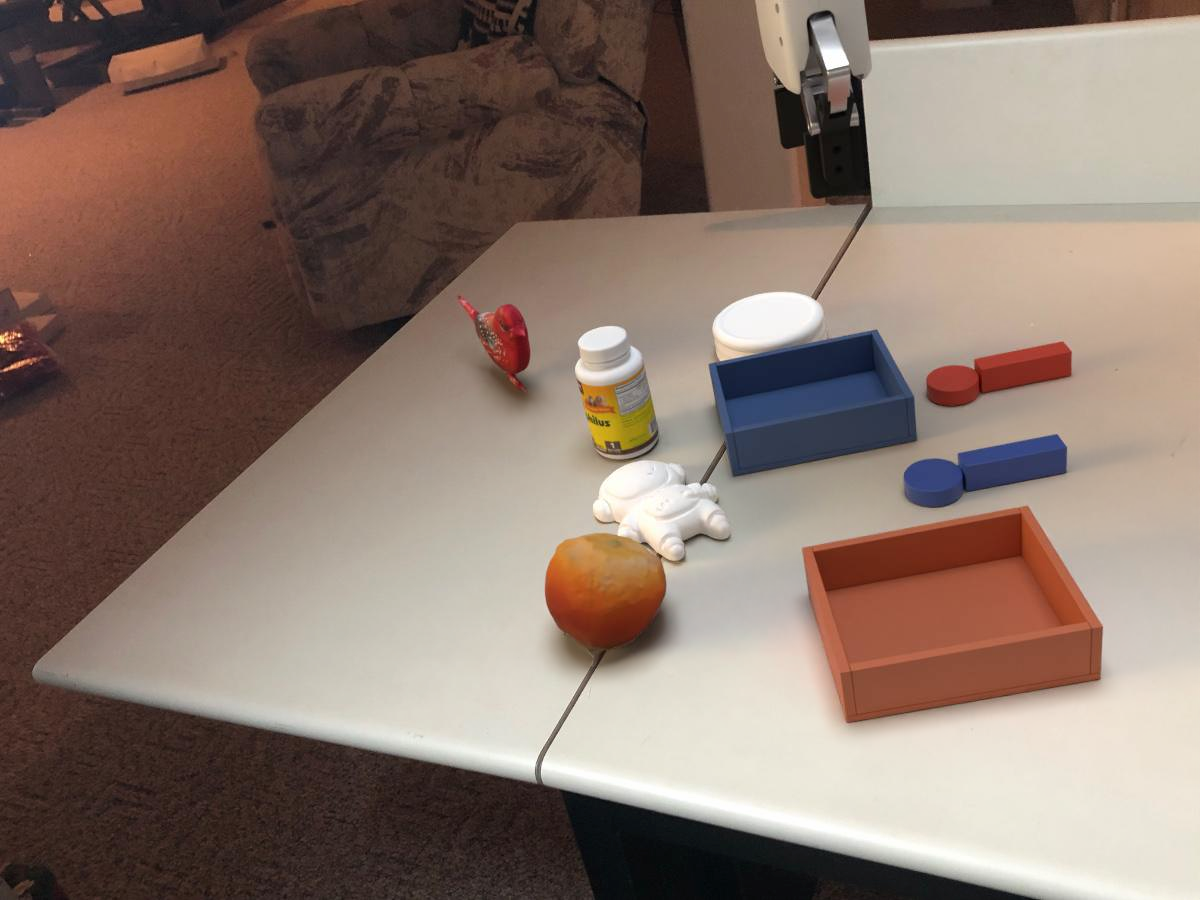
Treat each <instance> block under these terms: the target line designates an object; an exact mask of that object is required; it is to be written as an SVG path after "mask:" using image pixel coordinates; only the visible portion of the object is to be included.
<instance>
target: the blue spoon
mask: <svg viewBox="0 0 1200 900" xmlns="http://www.w3.org/2000/svg"><path fill="white" fill-rule="evenodd" d="M1067 465H1068V446H1067V445H1066V444H1065V442H1064V441H1063V440H1062V438H1061V437H1060V435H1059V434H1058V433H1055V434H1050V435H1045V436H1039V437H1034V438H1029V439H1024V440H1023V439H1022V440H1019V441H1014V442H1013V441H1012V442H1008V443H1004V444H999V445H997V444H996V445H993V446H988V447H982V448H977V449H971V450H966V451H962V452H958V453H957V463H956V462H953V461H951V460H948V459H944V458H936V457H935V458H924V459H921V460H918V461H915V462H913V463H911V464H910V465H909V466H908V467H906V469H905V471H904V472H903V487H904V489H903V490H904V494H905V496H906V498H907V499H908V500H909V501H910V502H912V503H913V504H916V505H918V506H922V507H926V508H927V507H929V508H939V507H944V506H948V505H951V504H953V503H955V502H956V501H958V500H959V499H960V498H961V497H962V495H963V493H964V490H965V492H972V491H976V490H977V491H978V490H981V489H987V488H992V487H997V486H1002V485H1008V484H1015V483H1019V482H1023V481H1028V480H1035V479H1040V478H1045V477H1050V476H1056V475H1061V474H1065V473H1067V469H1068V466H1067Z"/></svg>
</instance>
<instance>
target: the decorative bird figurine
mask: <svg viewBox="0 0 1200 900" xmlns="http://www.w3.org/2000/svg"><path fill="white" fill-rule="evenodd" d="M456 297H457V299H458V301H459V302H460V304H461V306H462V307H463V308H464V310H465V312H466V313H467V314H468V316H469V317H470V319H471V321H472V322H473V324H474V328H475V331H476V334H477V337H478V339H479V341H480V342H481V344H482V346H483V348H484V350H485V351H486V353H487V355H488V356H489V358H490V359H491V361H492V362H493V363H494V364H495V365H496V366H497V367H498V368H499V369H500V370H501V371H503V372H505V375H507V376H508V379H509V381H510V382H511V383H512V384H513V385H514V386H515V387H516V388H517V389H521V390H524V391H525V392H527V393H528V392H529V391H528V390H527V388H526V387H525V386H524V385H523V382H522V381H521V380H520V379H518V377H517V374H520V373H521V372H524V371H525V370H526V369H527V368H528V367H529V364H530V361H531V345H530V340H529V331H528V327H527V324H526V321H525V318H524V316H523V315H522V313H521V311H520V310H519V308H518V307H517V306H515V305H514V304H512V303H505V304H503V305H501V306H499V307H498V308H497V309H496V311H483V312H479V311H478V310H476V308H475V307H473V306H472V305H471V304H470V303H469V302H468V301H467V300H466V299H465V298H464V297H463V296H461V295H459V294H458V295H457V296H456Z"/></svg>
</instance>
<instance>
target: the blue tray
mask: <svg viewBox="0 0 1200 900" xmlns="http://www.w3.org/2000/svg"><path fill="white" fill-rule="evenodd" d="M708 370H709V374H710V380H711V381H710V382H711V387H712V392H713V397H714V402H715V408H716V412H717V415H718V420H719V423H720V428H721V432H722V436H723V441H724V444H725V445H724V446H725V449H726V453H727V457H728V461H729V465H730V469H731V474H732V477H737V476H741V475H746V474H753V473H757V472H761V471H767V470H772V469H777V468H782V467H789V466H792V465H799V464H803V463H808V462H812V461H813V462H814V461H818V460H824V459H827V458H828V459H829V458H834V457H838V456H839V457H840V456H844V455H849V454H850V455H851V454H855V453H859V452H860V453H861V452H865V451H869V450H875V449H881V448H885V447H890V446H895V445H901V444H905V443H911V442H916V441H918V435H917V434H918V433H917V417H916V404H915V403H916V402H915V395H914V394H913V391H912V390H911V387H910V386H909V384H908V383H907V381H906V379H905V378H904V377H905V376H903V374H902V371H901V370H900V367H899V366H898V365H897V363H896V361H895V359H894V357H893V355H892V354H891V352H890V350H889V348H888V346H887V345H886V343H885V341H884V339H883V338H882V335H881V334H880V332H879V329H878V328H877V329H872V330H867V331H862V332H857V333H851V334H847V335H842V336H837V337H832V338H827V340H822V341H817V342H812V343H807V344H802V345H798V346H793V347H788V348H783V349H778V350H773V351H768V352H763V353H758V354H754V355H749V356H744V357H739V358H734V359H729V360H724V361H720V360H718V361H716V362H710V363H708Z"/></svg>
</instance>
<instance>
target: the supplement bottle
mask: <svg viewBox="0 0 1200 900" xmlns="http://www.w3.org/2000/svg"><path fill="white" fill-rule="evenodd" d="M577 346H578V351H579V356H580V358H579V359H578V361H577V362H576V364H575V368H574V373H575V377H576V382H577V385H578V386H577V387H578V389H579V392H580V397H581V400H582V404H583V408H584V412H585V416H586V420H587V424H588V427H589V432H590V435H591V438H592V439H591V440H592V442H593V446H594V448H595V450H596V451H597V453H598V454H600V455H601V456H602V457H605V458H607V459H611V460H628V459H629V460H630V459H633V458H636V457H639V456H642V455H643V454H645V453H646V452H648V451H650V450H651V449H653V447H654V446H655V445H656V443H657V441H658V439H659V435H660V432H659V431H660V430H659V425H658V421H657V415H656V412H655V407H654V402H653V398H652V393H651V389H650V384H649V380H648V375H647V369H646V366H645V361H644V357H643V355H642V353H641V351H640V350H639V349H638V348H636V347H634V346H633V345H631V343H630V341H629V337H628V332H627V330H625V329H624V328H623V327H620V326H616V325H605V326H600V327H597V328H593V329H590V330H588V331H587V332H585V333H583V334H582V335H581V336H580V338H579V339H578V341H577Z"/></svg>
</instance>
